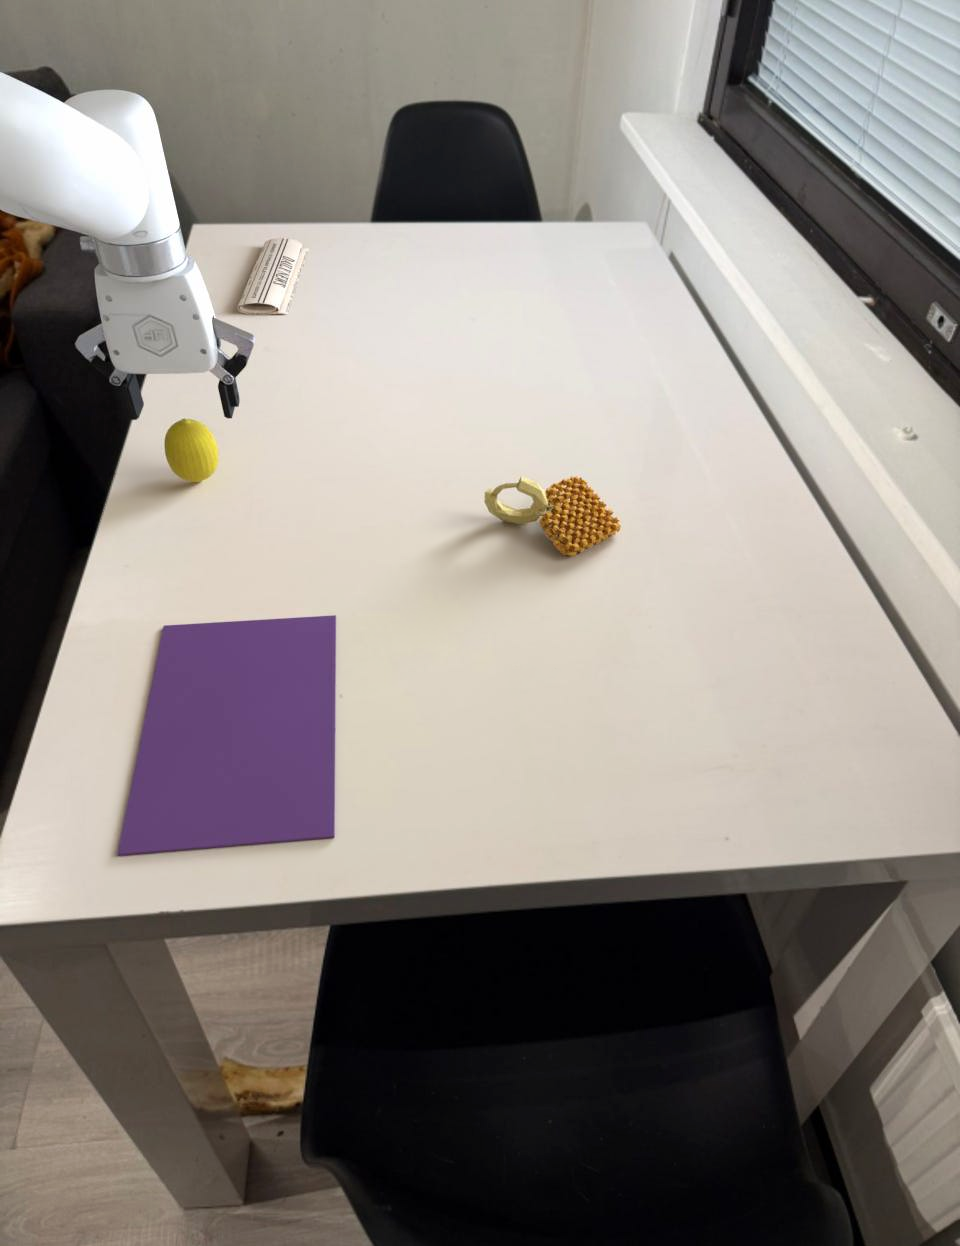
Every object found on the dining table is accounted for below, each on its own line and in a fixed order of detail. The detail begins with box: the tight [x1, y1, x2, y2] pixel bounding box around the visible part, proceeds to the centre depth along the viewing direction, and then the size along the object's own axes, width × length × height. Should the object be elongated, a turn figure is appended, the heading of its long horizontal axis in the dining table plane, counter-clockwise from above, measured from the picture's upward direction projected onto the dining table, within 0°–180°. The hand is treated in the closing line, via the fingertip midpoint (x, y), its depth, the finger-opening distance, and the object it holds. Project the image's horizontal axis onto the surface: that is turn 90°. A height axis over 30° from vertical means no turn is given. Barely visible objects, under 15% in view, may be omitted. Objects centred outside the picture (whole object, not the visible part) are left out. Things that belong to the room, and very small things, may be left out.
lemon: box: [164, 418, 220, 483], centre depth 95 cm, size 6×6×8 cm
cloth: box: [117, 614, 337, 857], centre depth 74 cm, size 24×16×1 cm, turn 6°
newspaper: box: [236, 237, 310, 316], centre depth 134 cm, size 24×7×2 cm, turn 0°
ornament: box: [484, 475, 622, 557], centre depth 92 cm, size 7×10×15 cm
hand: (184, 412), depth 91 cm, fingers open, 9 cm apart
